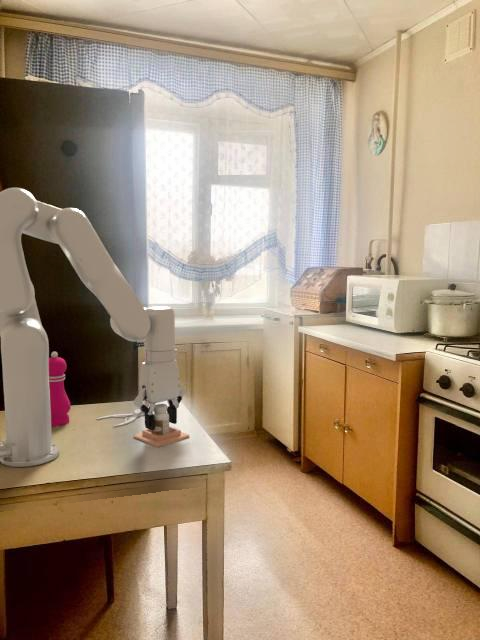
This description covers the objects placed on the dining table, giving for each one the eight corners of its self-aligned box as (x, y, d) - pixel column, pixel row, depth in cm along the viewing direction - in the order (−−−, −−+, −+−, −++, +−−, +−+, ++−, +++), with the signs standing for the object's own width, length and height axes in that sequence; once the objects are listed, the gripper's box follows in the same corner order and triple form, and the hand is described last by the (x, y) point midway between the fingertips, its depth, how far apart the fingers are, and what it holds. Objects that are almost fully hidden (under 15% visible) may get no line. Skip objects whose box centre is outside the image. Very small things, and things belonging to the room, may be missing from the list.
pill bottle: (148, 436, 130) (147, 406, 129) (159, 430, 134) (159, 402, 133) (161, 439, 128) (161, 409, 127) (172, 434, 132) (172, 404, 131)
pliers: (95, 415, 146) (140, 404, 156) (95, 420, 146) (140, 409, 156) (114, 423, 139) (159, 411, 149) (114, 428, 139) (160, 416, 150)
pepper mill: (37, 425, 141) (34, 353, 138) (55, 417, 147) (52, 348, 145) (60, 428, 138) (56, 354, 136) (76, 420, 145) (73, 350, 143)
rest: (157, 447, 124) (157, 440, 124) (133, 437, 131) (133, 430, 131) (189, 437, 132) (189, 430, 131) (165, 428, 138) (165, 421, 138)
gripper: (177, 349, 138) (178, 415, 140) (121, 358, 125) (123, 430, 127) (196, 353, 132) (196, 421, 135) (139, 363, 120) (141, 437, 122)
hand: (161, 425), depth 131 cm, fingers open, 6 cm apart
